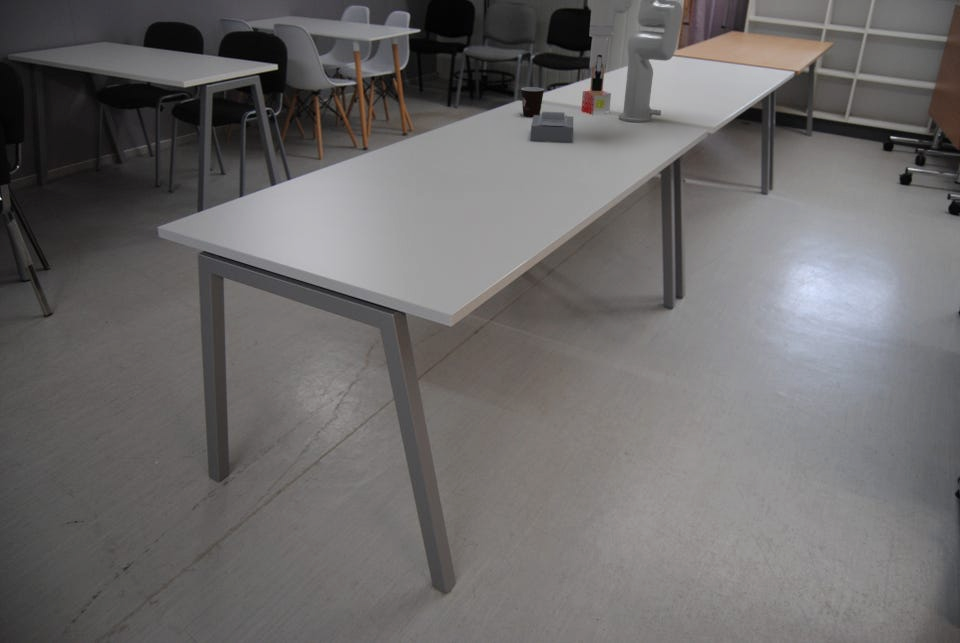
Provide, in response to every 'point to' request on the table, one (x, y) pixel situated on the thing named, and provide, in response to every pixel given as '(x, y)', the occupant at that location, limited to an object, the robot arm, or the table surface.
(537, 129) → the socket box
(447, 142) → the table surface
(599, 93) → the plug
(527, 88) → the dark brown cup
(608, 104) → the puzzle cube
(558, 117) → the shutter
